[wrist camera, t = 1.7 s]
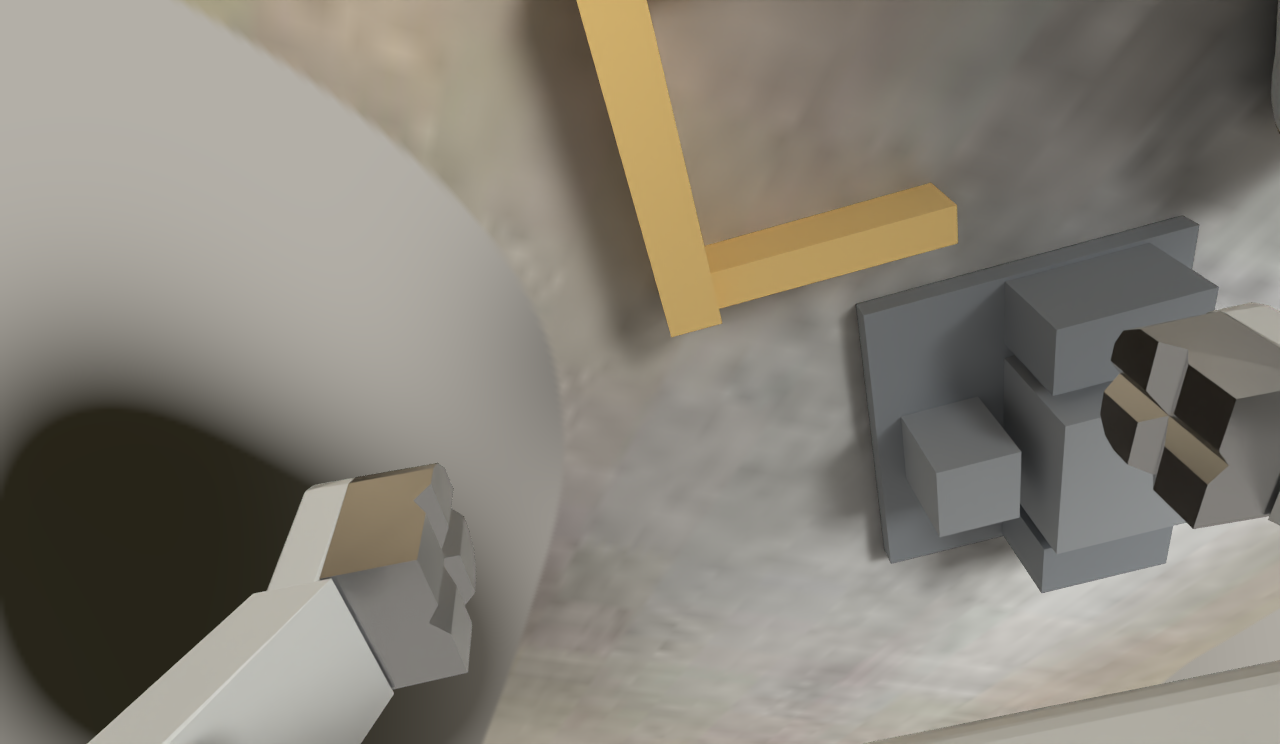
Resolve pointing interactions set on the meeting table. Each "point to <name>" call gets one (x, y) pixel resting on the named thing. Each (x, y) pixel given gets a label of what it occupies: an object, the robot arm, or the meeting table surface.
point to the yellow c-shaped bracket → (667, 211)
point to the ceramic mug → (1276, 75)
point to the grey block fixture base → (1023, 405)
